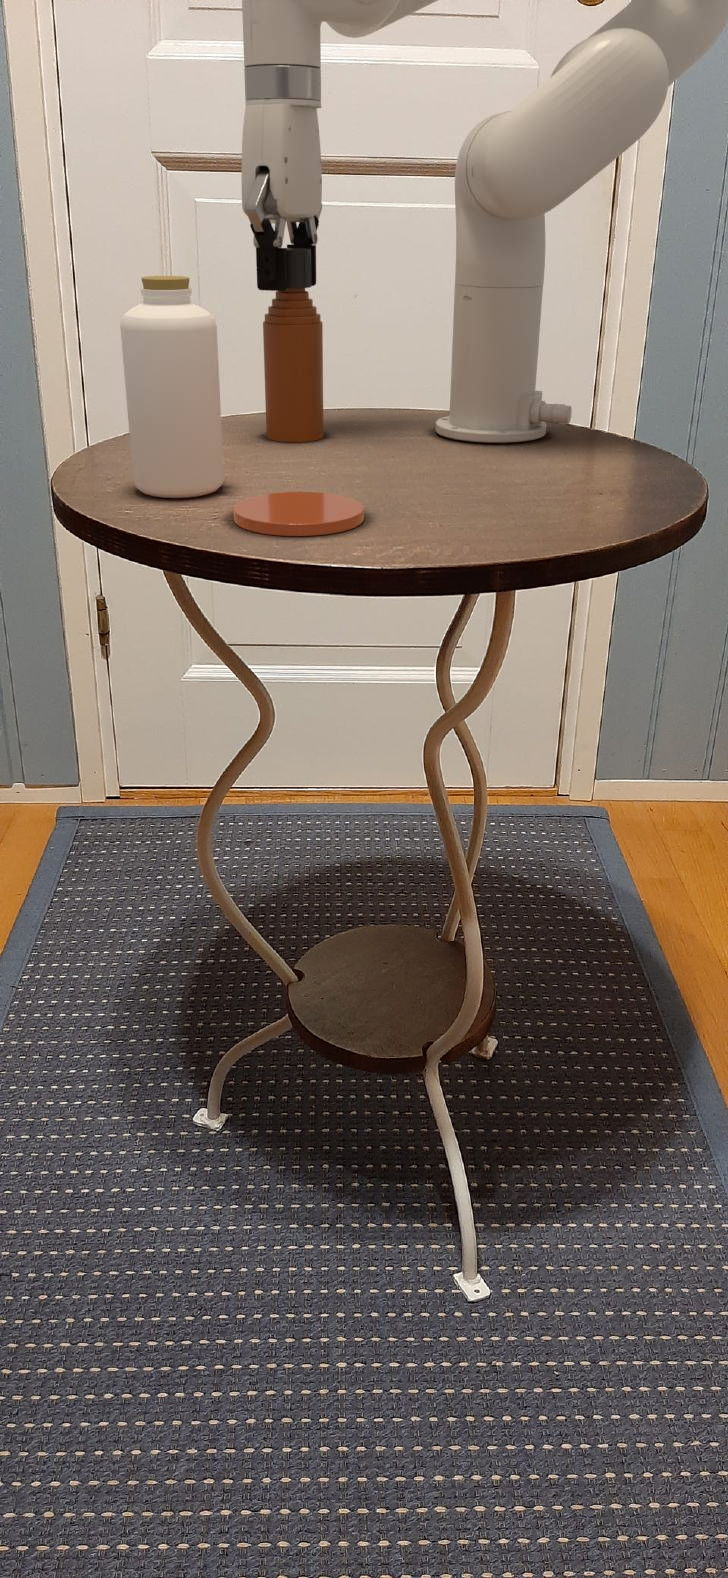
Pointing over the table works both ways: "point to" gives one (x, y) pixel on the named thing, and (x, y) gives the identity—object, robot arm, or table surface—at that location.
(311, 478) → the table surface
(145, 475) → the potion bottle
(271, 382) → the sauce bottle
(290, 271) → the cap
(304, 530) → the orange round coaster
